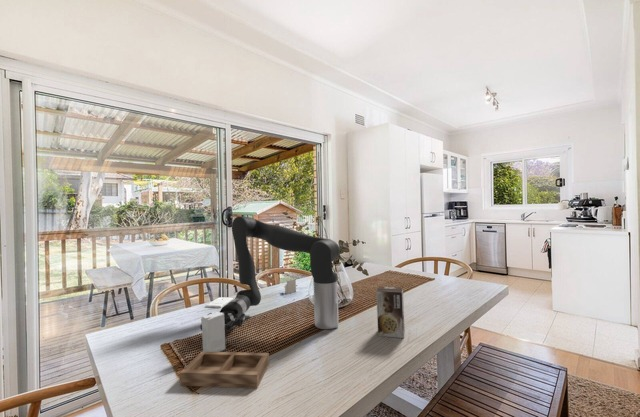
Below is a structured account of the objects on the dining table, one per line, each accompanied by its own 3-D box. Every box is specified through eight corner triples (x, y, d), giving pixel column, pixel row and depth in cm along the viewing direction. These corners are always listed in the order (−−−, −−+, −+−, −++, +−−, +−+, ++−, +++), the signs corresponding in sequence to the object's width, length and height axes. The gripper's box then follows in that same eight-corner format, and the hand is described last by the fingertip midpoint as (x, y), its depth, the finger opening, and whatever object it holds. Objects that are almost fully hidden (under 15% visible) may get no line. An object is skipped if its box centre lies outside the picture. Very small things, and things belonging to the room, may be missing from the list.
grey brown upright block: (405, 331, 110) (403, 287, 110) (403, 338, 104) (402, 292, 104) (379, 328, 113) (378, 285, 113) (377, 335, 107) (376, 290, 107)
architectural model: (283, 293, 164) (283, 279, 164) (294, 290, 168) (294, 277, 168) (287, 294, 161) (286, 280, 161) (297, 292, 165) (297, 278, 165)
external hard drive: (233, 300, 154) (220, 309, 142) (218, 300, 156) (205, 308, 143) (233, 297, 154) (220, 305, 142) (218, 297, 156) (205, 304, 143)
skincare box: (218, 346, 103) (217, 310, 102) (226, 349, 100) (225, 313, 100) (201, 353, 98) (200, 316, 98) (209, 357, 95) (207, 319, 95)
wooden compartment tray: (269, 364, 89) (268, 353, 89) (257, 388, 78) (256, 374, 78) (201, 363, 92) (201, 351, 92) (180, 385, 80) (180, 372, 80)
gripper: (215, 301, 116) (193, 316, 100) (251, 301, 115) (234, 317, 99) (216, 320, 117) (194, 339, 100) (252, 321, 115) (235, 340, 99)
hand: (214, 328), depth 100 cm, fingers open, 8 cm apart
